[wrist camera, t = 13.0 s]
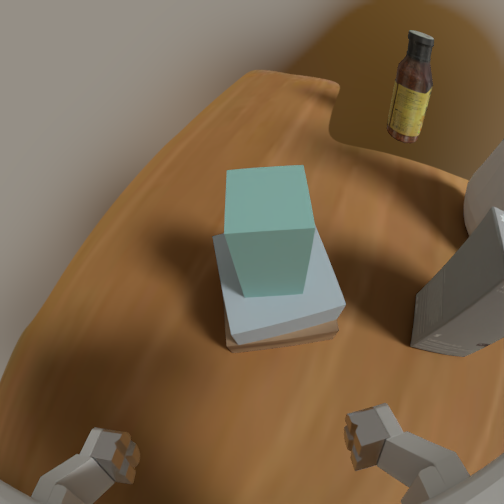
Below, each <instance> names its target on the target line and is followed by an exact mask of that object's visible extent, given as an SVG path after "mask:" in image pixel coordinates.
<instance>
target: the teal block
mask: <svg viewBox="0 0 504 504" xmlns="http://www.w3.org/2000/svg"><path fill="white" fill-rule="evenodd" d="M314 233H315V223H314V217H313V212H312V206H311V201H310V196H309V191H308V185H307V180H306V176H305V171H304V166H303V165H295V166H276V167H261V168H248V169H236V170H227V179H226V201H225V225H224V235H225V238H226V241H227V244H228V248H229V251H230V254H231V257H232V260H233V263H234V266H235V270H236V273H237V276H238V279H239V282H240V285H241V288H242V291H243V294H244V297H245V298H248V297H266V296H282V295H297V294H303V291H304V286H305V281H306V276H307V271H308V266H309V261H310V255H311V250H312V244H313V239H314Z"/></svg>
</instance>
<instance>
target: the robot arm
mask: <svg viewBox="0 0 504 504" xmlns="http://www.w3.org/2000/svg"><path fill="white" fill-rule="evenodd" d="M345 421H346V424H347V425H346V426H345V427H344V439H345V443H346V447H347V449H348V450H350V451H351V461H352V464H353V467H354V470H355V471H357V470H361V469H364V468H368V467H371V466H375V465H377V466H378V467H379V468H381V469H382V470H384V471H385V472H387V473H388V474H390V475H391V476H392V477H394V478H395V479H397V480H399V481H400V482H402V483H403V484H405V485H406V486H408V487H409V489H408V491H407V492H406V494H405V495H404V497H403V498H402V500H401V503H402V504H504V453H502V454H501V455H500V456H499V457H497V458H496V459H495V460H493V461H492V462H490V463H489V464H488V465H486V466H485V467H483V468H482V469H480V470H479V471H477V472H476V473H474V474H473V475H471V476H470V475H469V473H468V472H467V470H466V468H465V467H464V465H463V464H462V462H461V460H460V459H459V457H458V456H457V454H456V452H453V451H451V450H448V449H446V448H444V447H441V446H439V445H437V444H434V443H432V442H430V441H427V440H425V439H423V438H421V437H418V436H416V435H414V434H412V433H410V432H408V431H407V432H403V430H402V429H401V427H400V425H399V423H398V422H397V420H396V418H395V416H394V415H393V413H392V411H391V409H390V408H389V406H388V404H386V403H383V404H380V405H377V406H374V407H369V408H366V409H363V410H360V411H356V412H353V413H349V414H347V415H346V417H345ZM139 461H140V451H139V448H138V446H137V445H136V444H135V443H134V442H132V441H131V436H130V435H129V433H128V432H123V431H115V430H109V429H102V428H96V427H95V428H93V429H92V430H91V432H90V434H89V436H88V438H87V440H86V442H85V444H84V446H83V448H82V450H81V452H80V454H76V455H74V456H73V457H71V458H70V459H68V460H67V461H65V462H64V463H62V464H60V465H59V466H57V467H56V468H54V469H52V470H51V471H49V472H48V473H46V474H44V475H43V476H41V477H40V479H39V481H38V483H37V485H36V487H35V489H34V491H33V494H32V496H31V497H30V496H28V495H26V494H24V493H22V492H21V491H19V490H17V489H15V488H14V487H12V486H10V485H9V484H7V483H5V482H4V481H2V480H0V504H93V503H94V502H95V501H96V500H97V499H98V498H99V497H100V496H101V495H102V494H104V493H105V492H106V491H107V490H108V489H109V488H110V487H111V486H112V485H113V484H114V483H115V482H121V483H127V484H133V482H134V478H135V475H136V471H135V469H134V467H136V466H137V465H138V464H139ZM114 481H115V482H114Z"/></svg>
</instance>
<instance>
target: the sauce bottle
mask: <svg viewBox="0 0 504 504" xmlns="http://www.w3.org/2000/svg"><path fill="white" fill-rule="evenodd" d="M408 39H409V44H408V51H407V55H406V57H405V58H404V59H403V60H402V61H401V62H400V63H399V65H398V69H397V77H396V79H395V84H394V90H393V95H392V101H391V106H390V111H389V116H388V121H387V131H388V133H389V134H390V135H391V136H392V137H393V138H395V139H396V140H398V141H401V142H404V143H413V142H415V141H416V140H417V138H418V136H419V134H420V131H421V128H422V124H423V121H424V117H425V113H426V110H427V106H428V103H429V98H430V94H431V90H432V86H433V83H432V75H431V67H430V56H431V51H432V47H433V46H434V39H433V38H432V37H430V36H428V35H426V34H424V33H421V32H418V31H413V30H409V34H408Z"/></svg>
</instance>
